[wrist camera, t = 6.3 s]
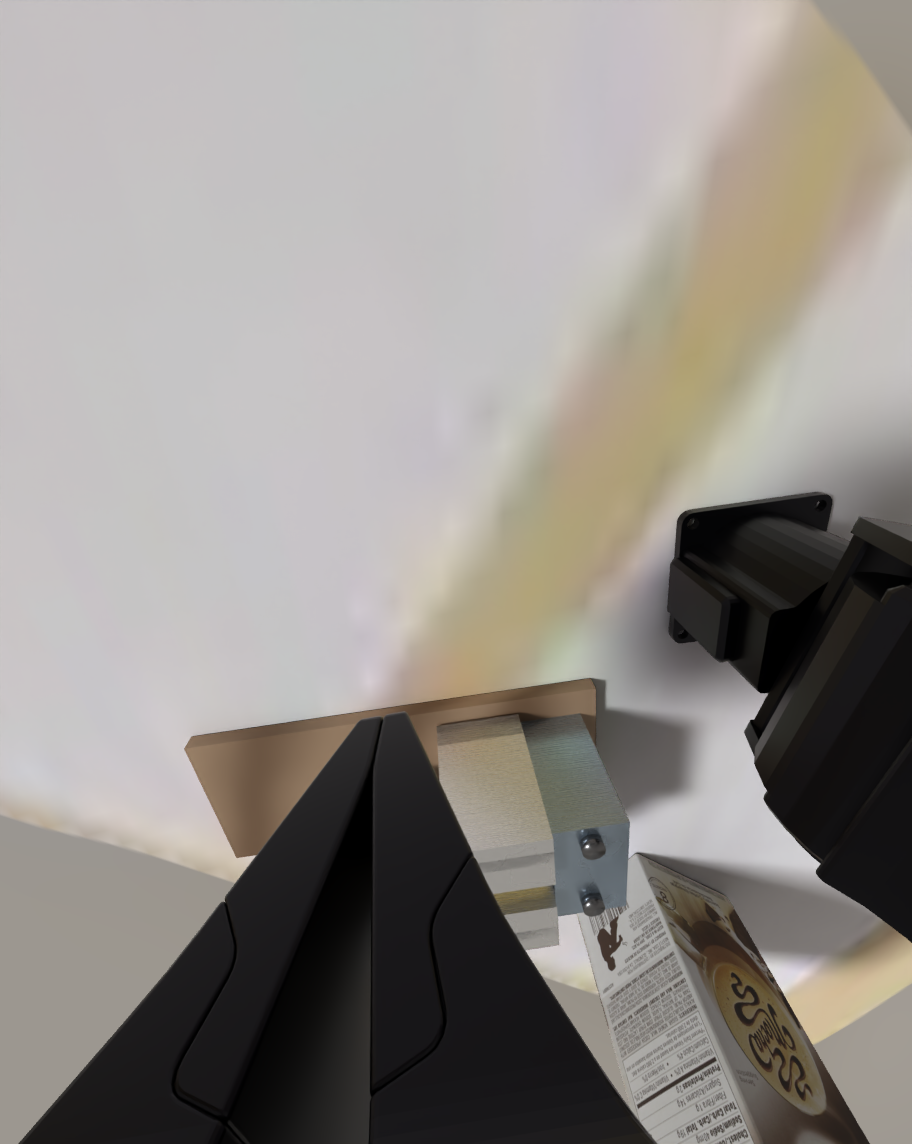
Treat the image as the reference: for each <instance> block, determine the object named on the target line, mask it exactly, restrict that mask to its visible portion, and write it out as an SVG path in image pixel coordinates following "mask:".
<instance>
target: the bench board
mask: <svg viewBox="0 0 912 1144" xmlns="http://www.w3.org/2000/svg"><path fill="white" fill-rule="evenodd" d="M403 711H405V712H407V713H408V715H409V717H410V719H411V721H412V723H413V726H414V728H415V730H416V732H417V734H418V736H419V738H420V741H421V743H422V745H423V747H424V749H425V751H426V753H427V756H428V758H429V760H430V762H431V764H432V766H433V768H434V771H435V773H436V775H437V777H438V779H439V762H438V742H437V726H441V725H448V724H455V723H461V722H468V721H475V720H482V719H488V718H495V717H502V716H509V715H516V714H518V715H519V719H520V722H524V721H531V720H538V719H545V718H551V717H558V716H565V715H572V714H578V713H580V714H581V717H582V719H583V721H584V723H585V725H586V728H587V730H588V732H589V734H590V736H591V739H592V741H593V743H594V745H595V747H596V688H595V686H594V684H593V682H592V680H591V678H589V679H582V680H575V681H569V682H562V683H555V684H548V685H541V686H534V687H528V688H521V689H514V690H507V691H500V692H493V693H487V694H480V695H473V696H466V697H459V698H453V699H446V700H439V701H432V702H425V703H418V704H412V705H405V706H398V707H391V708H384V709H377V710H371V711H364V712H357V713H350V714H343V715H336V716H330V717H323V718H316V719H309V720H302V721H295V722H289V723H282V724H275V725H268V726H261V727H255V728H248V729H241V730H234V731H227V732H220V733H214V734H207V735H200V736H193V737H191V738H190V740H189V742H188V743H187V745H186V747H185V748H184V749H185V752H186V754H187V756H188V758H189V760H190V762H191V764H192V766H193V768H194V770H195V772H196V774H197V776H198V779H199V781H200V783H201V785H202V787H203V789H204V791H205V793H206V795H207V797H208V799H209V801H210V804H211V806H212V808H213V810H214V812H215V814H216V816H217V818H218V820H219V822H220V824H221V826H222V829H223V831H224V833H225V835H226V837H227V839H228V841H229V843H230V845H231V847H232V849H233V851H234V853H235V856H236V858H239V857H246V856H253V855H257V854H258V853H259V851H260V850H261V849H262V847H263V846H264V845H265V843H266V842H267V841H268V840H269V838H270V837H271V836H272V834H273V833H274V832H275V830H276V829H277V828H278V826H279V825H280V824H281V822H282V821H283V820H284V818H285V817H286V816H287V815H288V813H289V812H290V811H291V809H292V808H293V807H294V805H295V804H296V803H297V801H298V800H299V799H300V797H301V796H302V795H303V793H304V792H305V791H306V789H307V788H308V787H309V786H310V784H311V783H312V782H313V780H314V779H315V778H316V776H317V775H318V774H319V772H320V771H321V770H322V768H323V767H324V766H325V764H326V763H327V762H328V761H329V759H330V758H331V757H332V755H333V754H334V753H335V751H336V750H337V749H338V747H339V746H340V745H341V743H342V742H343V741H344V739H345V738H346V737H347V736H348V734H349V733H350V732H351V730H352V729H353V728H354V726H355V725H356V724H357V722H358V721H360V720H361V719H365V718H370V717H376V716H382V717H383V718H384V716H386V715H387V714H392V713H397V712H403Z"/></svg>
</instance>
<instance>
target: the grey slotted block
mask: <svg viewBox="0 0 912 1144" xmlns="http://www.w3.org/2000/svg"><path fill="white" fill-rule="evenodd" d="M437 742H438V762H439V781H440V783H441V785H442V788H443V790H444V792H445V794H446V796H447V798H448V800H449V803H450V805H451V807H452V809H453V811H454V813H455V815H456V818H457V820H458V822H459V824H460V826H461V828H462V830H463V833H464V835H465V837H466V839H467V841H468V843H469V845H470V848H471V850H472V852H473V854H474V858H476V860H477V862H478V864H479V866H480V868H481V870H482V873H483V875H484V877H485V879H486V881H487V883H488V885H489V887H490V889H491V891H492V893H493V895H494V897H495V899H496V901H497V903H498V905H499V907H500V908H501V910H502V912H503V914H504V916H505V918H506V919H507V921H508V923H509V924H510V926H511V928H512V929H513V931H514V933H515V934H516V936H517V938H518V939H519V941H520V943H521V944H522V946H523V948H524V949H525V950H530V949H537V948H543V947H550V946H556V945H559V931H558V914H557V905H556V901H555V897H554V893H553V889H552V885H556V878H555V861H554V843H553V836H552V833H551V829H550V826H549V822H548V818H547V815H546V811H545V808H544V804H543V801H542V797H541V793H540V790H539V786H538V783H537V779H536V776H535V772H534V769H533V765H532V761H531V758H530V754H529V751H528V747H527V744H526V740H525V736H524V733H523V729H522V726H521V722H520V719H519V715H518V714H516V715H509V716H502V717H495V718H488V719H482V720H475V721H468V722H461V723H455V724H448V725H441V726H437Z"/></svg>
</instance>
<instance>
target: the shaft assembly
mask: <svg viewBox="0 0 912 1144" xmlns="http://www.w3.org/2000/svg"><path fill="white" fill-rule="evenodd" d="M521 726H522V729H523V733H524V736H525V740H526V744H527V747H528V751H529V754H530V758H531V761H532V765H533V769H534V772H535V776H536V779H537V783H538V786H539V790H540V793H541V797H542V801H543V804H544V808H545V811H546V815H547V818H548V822H549V826H550V829H551V833H552V836H553V843H554V861H555V878H556V885H552V889H553V893H554V897H555V901H556V905H557V914H558V916H564V915H570V914H577V913H583V912H584V914H585V915H587V916H590V917H593V916H598V915H600V914H602V913H603V912H604V911H605V909H609V908H616V907H622V906H626V898H627V874H628V850H629V827H630V822H629V820H628V817H627V815H626V813H625V811H624V809H623V807H622V804H621V802H620V800H619V798H618V796H617V793H616V791H615V789H614V787H613V785H612V782H611V780H610V778H609V776H608V774H607V771H606V769H605V767H604V765H603V763H602V760H601V758H600V756H599V754H598V752H597V749H596V747H595V745H594V743H593V741H592V739H591V736H590V734H589V732H588V730H587V728H586V725H585V723H584V721H583V719H582V717H581V714H580V713H578V714H572V715H565V716H558V717H551V718H545V719H538V720H531V721H524V722H521Z"/></svg>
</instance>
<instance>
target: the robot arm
mask: <svg viewBox="0 0 912 1144" xmlns="http://www.w3.org/2000/svg"><path fill="white" fill-rule="evenodd" d="M818 501H819V504H818V506H817V507H816V508H815V505H816V503H817V502H818ZM831 507H832V499H831V497H830V496H829V495H827V494H824V493H821V492H812V493H805V494H798V495H791V496H784V497H777V498H770V499H763V500H756V501H749V502H742V503H735V504H728V505H721V506H714V507H706V508H699V509H692V510H688V511H685V512H683V513H682V514H681V515H680V516H679V518H678V521H677V528H676V542H675V555H674V559H673V561H672V562H671V564H670V577H669V591H668V606H667V610H668V612H669V613H670V623H669V635H670V636H671V637H672V638H673V640H674V641H675V642H677V643H688V642H695V641H698V642H699V643H700V644H701V645H702V646H703V647H704V648H705V650H706V651H707V652H708V653H709V654H710V655H711V656H712V657H713V658H715V659H716V660H717V661H719V662H720V663H721V662H729V663H730V664H731V665H732V666H733V667H734V668H735V669H736V670H737V671H738V672H739V673H740V674H741V675H742V676H743V677H744V678H745V679H746V680H747V681H748V682H749V683H750V684H751V685H752V686H753V687H754V688H755V689H756V690H757V691H758V692H760V693H768V695H767V697H766V699H765V701H764V703H763V704H762V706H761V708H760V710H759V712H758V714H757V716H756V717H755V719H754V720H750V722H749V724H748V726H747V727H746V729H745V731H744V733H745V736H746V738H747V740H748V743H749V745H750V747H751V750H752V752H753V754H754V757H755V759H754V764H755V766H756V769H757V771H758V773H759V775H760V778H761V780H762V782H763V784H764V787H765V788H766V790H767V792H766V793H765V795H764V801H765V803H766V805H767V806H768V808H769V810H770V811H771V812H772V813H773V814H774V816H775V817H776V818H777V819H778V820H779V822H780V823H781V824H782V825H783V827H784V828H785V829H786V830H787V831H788V832H789V833H790V834H791V835H792V836H793V837H794V838H795V840H796V841H797V842H798V843H799V844H800V845H801V846H802V847H803V848H804V849H805V850H806V851H807V852H808V853H809V854H810V855H811V856H812V857H813V858H814V859H816V860H817V861H818V862H819V863H821V864H820V865H819V867H818V868H817V870H816V874H817V875H818V877H819V878H820V879H821V880H822V881H823V882H825V883H826V884H828V885H830V886H831V887H833V888H835V889H836V890H838V891H840V892H841V893H843V894H845V895H846V896H848V897H850V898H851V899H853V900H855V901H856V902H858V903H860V904H861V905H863V906H865V907H866V908H867V909H869V910H870V911H871V912H873V913H874V914H875V915H877V916H878V917H879V918H881V919H882V920H883V921H885V922H886V923H887V924H889V925H890V926H891V927H893V928H894V929H895V930H896V931H898V932H899V933H900V934H902V935H903V936H904V937H906V938H907V939H908V940H909V941H910V942H911V943H912V525H908V524H902V523H896V522H890V521H884V520H878V519H872V518H867V517H859V518H858V520H857V522H856V524H855V526H854V528H853V529H852V531H851V533H852V534H854V536H853V538H852V539H851V541H847V540H845V539H843V538H840V537H838V536H835V535H833V534H831V533H828V532H826V531H827V526H828V521H829V517H830V512H831ZM693 518H694V522H693V524H692V525H691V526H687V524H688V522H689V521H690V520H691V519H693ZM681 630H684V632H683V633H682V634H679V632H680V631H681ZM678 634H679V635H678ZM19 1144H657V1142H656V1141H655V1140H654V1139H653V1138H652V1136H651V1135H650V1134H649V1133H648V1131H647V1130H646V1129H645V1128H644V1126H643V1125H642V1124H641V1122H640V1121H639V1120H638V1119H637V1117H636V1116H635V1115H634V1113H633V1112H632V1110H631V1109H630V1108H629V1106H628V1105H627V1104H626V1102H625V1101H624V1100H623V1098H622V1097H621V1095H620V1094H619V1093H618V1091H617V1090H616V1088H615V1087H614V1085H613V1084H612V1083H611V1081H610V1080H609V1078H608V1077H607V1076H606V1074H605V1072H604V1071H603V1070H602V1068H601V1066H600V1065H599V1064H598V1062H597V1061H596V1059H595V1058H594V1056H593V1054H592V1053H591V1051H590V1050H589V1048H588V1047H587V1045H586V1044H585V1042H584V1041H583V1039H582V1038H581V1036H580V1034H579V1033H578V1032H577V1030H576V1028H575V1027H574V1026H573V1024H572V1022H571V1021H570V1019H569V1017H568V1016H567V1014H566V1013H565V1011H564V1010H563V1008H562V1007H561V1005H560V1004H559V1002H558V1001H557V999H556V997H555V996H554V994H553V993H552V991H551V990H550V988H549V987H548V985H547V984H546V982H545V980H544V979H543V977H542V976H541V974H540V973H539V971H538V970H537V968H536V967H535V965H534V963H533V962H532V960H531V959H530V957H529V956H528V954H527V953H526V951H525V949H524V948H523V946H522V944H521V943H520V941H519V939H518V938H517V936H516V934H515V933H514V931H513V929H512V928H511V926H510V924H509V923H508V921H507V919H506V918H505V916H504V914H503V912H502V910H501V908H500V907H499V905H498V903H497V901H496V899H495V897H494V895H493V893H492V891H491V889H490V887H489V885H488V883H487V881H486V879H485V877H484V875H483V873H482V870H481V868H480V866H479V864H478V862H477V860H476V858H474V854H473V852H472V850H471V848H470V845H469V843H468V841H467V839H466V837H465V835H464V833H463V830H462V828H461V826H460V824H459V822H458V820H457V818H456V815H455V813H454V811H453V809H452V807H451V805H450V803H449V800H448V798H447V796H446V794H445V792H444V790H443V788H442V785H441V783H440V781H439V779H438V777H437V775H436V773H435V771H434V768H433V766H432V764H431V762H430V760H429V758H428V756H427V753H426V751H425V749H424V747H423V745H422V743H421V741H420V738H419V736H418V734H417V732H416V730H415V728H414V726H413V723H412V721H411V719H410V717H409V715H408V713H407V712H405V711H403V712H397V713H392V714H387V715H386V716H384V718H383V717H382V716H376V717H370V718H365V719H361V720H360V721H358V722H357V724H356V725H355V726H354V728H353V729H352V730H351V732H350V733H349V734H348V736H347V737H346V738H345V739H344V741H343V742H342V743H341V745H340V746H339V747H338V749H337V750H336V751H335V753H334V754H333V755H332V757H331V758H330V759H329V761H328V762H327V763H326V764H325V766H324V767H323V768H322V770H321V771H320V772H319V774H318V775H317V776H316V778H315V779H314V780H313V782H312V783H311V784H310V786H309V787H308V788H307V789H306V791H305V792H304V793H303V795H302V796H301V797H300V799H299V800H298V801H297V803H296V804H295V805H294V807H293V808H292V809H291V811H290V812H289V813H288V815H287V816H286V817H285V818H284V820H283V821H282V822H281V824H280V825H279V826H278V828H277V829H276V830H275V832H274V833H273V834H272V836H271V837H270V838H269V840H268V841H267V842H266V843H265V845H264V846H263V847H262V849H261V850H260V851H259V853H258V854H257V855H256V857H255V858H254V859H253V861H252V862H251V863H250V865H249V866H248V867H247V869H246V870H245V871H244V872H243V874H242V875H241V876H240V878H239V879H238V880H237V882H236V883H235V884H234V886H233V887H232V888H231V890H230V891H229V892H228V894H227V895H226V896H225V902H221V903H220V904H219V905H218V907H217V908H216V909H215V910H214V912H213V913H212V914H211V916H210V917H209V918H208V920H207V921H206V922H205V923H204V925H203V926H202V927H201V929H200V930H199V931H198V933H197V934H196V935H195V936H194V938H193V939H192V940H191V942H190V943H189V944H188V945H187V947H186V948H185V949H184V950H183V952H182V953H181V954H180V955H179V957H178V958H177V959H176V960H175V962H174V963H173V964H172V965H171V967H170V968H169V970H168V971H167V972H166V973H165V974H164V975H163V977H162V978H161V979H160V980H159V981H158V983H157V984H156V985H155V986H154V987H153V989H152V990H151V991H150V992H149V993H148V994H147V996H146V997H145V998H144V999H143V1000H142V1001H141V1003H140V1004H139V1005H138V1006H137V1008H136V1009H135V1010H134V1011H133V1012H132V1013H131V1015H130V1016H129V1017H128V1018H127V1019H126V1021H125V1022H124V1023H123V1024H122V1025H121V1026H120V1027H119V1029H118V1030H117V1031H116V1032H115V1033H114V1034H113V1036H112V1037H111V1038H110V1039H109V1040H108V1041H107V1043H106V1044H105V1045H104V1046H103V1047H102V1048H101V1049H100V1050H99V1052H98V1053H97V1054H96V1055H95V1056H94V1057H93V1058H92V1060H91V1061H90V1062H89V1063H88V1064H87V1065H86V1067H85V1068H84V1069H83V1070H82V1071H81V1072H80V1073H79V1075H78V1076H77V1077H76V1078H75V1079H74V1080H73V1082H72V1083H71V1084H70V1085H69V1086H68V1087H67V1088H66V1090H65V1091H64V1092H63V1093H62V1094H61V1095H60V1096H59V1098H58V1099H57V1100H56V1101H55V1102H54V1103H53V1105H52V1106H51V1107H50V1108H49V1109H48V1110H47V1111H46V1113H45V1114H44V1115H43V1116H42V1117H41V1118H40V1120H39V1121H38V1122H37V1123H36V1124H35V1125H34V1126H33V1128H32V1129H31V1130H30V1131H29V1132H28V1133H27V1134H26V1136H25V1137H24V1138H23V1139H22V1140H21V1141H20V1142H19Z"/></svg>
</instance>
